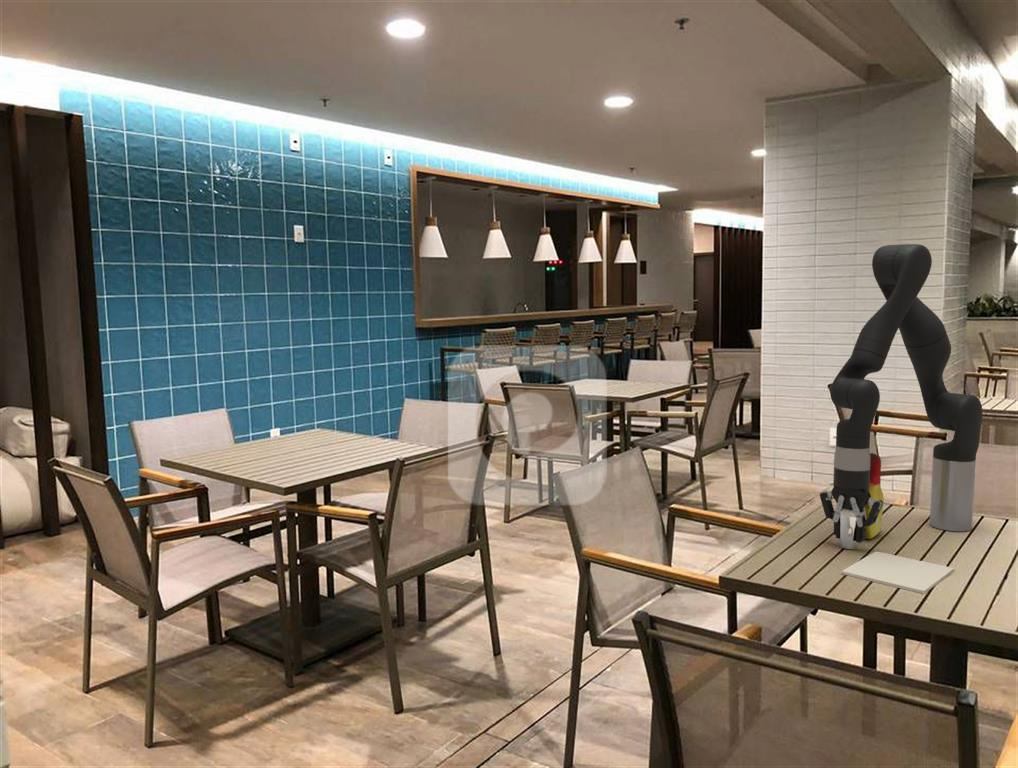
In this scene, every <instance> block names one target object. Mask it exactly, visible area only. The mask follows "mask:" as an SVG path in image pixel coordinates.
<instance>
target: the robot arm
mask: <svg viewBox="0 0 1018 768" xmlns="http://www.w3.org/2000/svg"><path fill="white" fill-rule="evenodd" d="M932 261H933V260H932V255H931V251H930V250H929V249H928V247H926V246H925V245H923V244H918V243H912V244H911V243H910V244H909V243H908V244H907V243H906V244H905V243H904V244H887V245H883V246H880V247H879V248H878V249H876V250H875V252H874V254H873V257H872V261H871V267H872V272H873V276H874V279H875V282H876V283H877V285H878V287H879V289H880V291H881V293H882V295H883V297H884V299H885V300H886V302H884V304H883V305H882V306H881V307H880V308H879V309H878V310H877V311H876V312H875V313H874V314H873V315H872V316H871V317H870V318H869V320H867V322H866V323H865V324H864V325H863V326H862V329H861V330H860V332H859V334H858V336H857V339H856V342H855V344H854V348H853V350H852V353H851V355H850V357H849V359H847V361H846V362H845V364H844V365H843V366H842V367H841V369H840V371H839V372H838V373H837V375H836V376H835V378H834V379H833V381H832V383H831V385H830V392H829V395H830V399H831V402H832V403H833V404H834V405H835V406H837V407H839V408H842V409H847V410H848V409H849V410H852V411H851V415H850V417H849V418H846V419H841V420H840V421H838V422H837V424H836V433H835V450H834V455H833V457H834V459H833V481H832V482H833V488H832V489H831V490H829V491H827V490H825V491H822V492H820V493H819V498H820V502H821V504H822V508H823V511H824V512H823V513H824V515H825V516H824V517H826V519H830V520H832V521H833V535H834V536H835V539H840V517H839V514H840V512H841V510H842V509H847V510H853V512H854V514H855V516H856V517H857V525H858V526H857V532H856V542H857V543H858V544H861V543H862V542H863V541H865V540H866V539H865V538H866V526H870V525H872V524H874V523H875V522H876V519H877V517H878V515H879V512H880V510H881V507H882V505H883V506H884V503H883V501H882V500H876V499H874V498H872V497H871V495H870V493H869V483H870V453H871V447H870V445H871V429H872V426H873V423H874V420H875V417H876V414H877V411H878V408H879V404H880V399H881V396H880V395H881V393H880V389H879V387H878V385H877V384H876V383H875V382H874V381H872V380H870V379H865V378H866V377H867V376H868V375H870V374H874V373H878V372H880V371H881V370H882V368H883V367H884V365H885V362H886V360H887V358H888V354H889V352H890V349H891V346H892V344H893V341H894V339H895V337H896V335H897V332H898V330H899V332H900V335H901V338H902V341H903V345H904V348H905V349H906V352H907V355H908V357H909V359H910V361H911V364H912V367H913V370H914V373H915V376H916V379H917V381H918V385H919V388H920V392H921V396H922V401H923V405H924V408H925V413H926V415H927V418H928V420H929V423H930V424H931V425H932V426H933V427H935V428H937V429H940V430H945V431H952V432H954V434H953V439H952V440H950V441H948V442H942V443H938V444H935V445H934V447H933V448H932V449H933V451H932V469H931V470H932V471H931V475H932V476H931V489H930V491H931V493H930V508H929V510H930V511H929V525H930V526H931V527H933V528H935V529H939V530H944V531H950V532H968V531H971V530H973V517H974V516H973V515H974V500H975V499H974V498H975V481H976V480H975V478H976V465H977V464H976V463H977V462H976V460H977V453H978V451H979V446H980V442H981V441H980V439H981V438H980V437H981V431H982V430H981V429H982V422H983V405H982V403H981V400H980V398H979V397H977V396H976V395H972V394H965V393H958V392H957V393H956V392H950V391H948V389H947V388H946V385H945V382H944V378H943V376H944V375H943V374H944V371H945V369H946V367H947V364H948V362H949V360H950V357H951V353H952V344H951V342H950V338H949V335H948V333H947V330H946V327H945V325H944V323H943V321H942V320H941V319H940V318H939V317H938V315H937V314H936V313H935V312H934V311H933V310H931V308H930V307H928V306H927V305H926V304H925V303H924V301H922V300H921V299H920V298H919V297H918V295H919V293H920V292H921V290H922V288H923V287H924V285H925V283H926V281H927V279H928V277H929V275H930V272H931V268H932V263H933V262H932ZM833 499H834V500H835V502H836V507H835V508H834V505H833V502H832V500H833ZM868 502H869V503H870V508H871V511H870V513H869V515H868V518H867V520H866V511H865V507H864V506H865V505H866V504H867V503H868ZM863 508H864V509H863ZM862 510H863V511H862Z"/></svg>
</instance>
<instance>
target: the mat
mask: <svg viewBox="0 0 1018 768" xmlns="http://www.w3.org/2000/svg"><path fill="white" fill-rule="evenodd" d="M953 572H955V568H954V567H950V566H947V565H941V564H937V563H932V562H927V561H922V560H919V559H915V558H914V559H913V558H909V557H904V556H900V555H895V554H889V553H886V552H880V551H877V550H876V551H874V552H872V553H871V554H868V555H867V556H865V557H864V558H862V559H860V560H858V561H857V562H855V563H853V564H851V565H849V566H848V567H846V568H844V569H843V570H841V575H845V576H849V577H852V578H857V579H862V580H864V581H868V582H869V581H870V582H873V583H877V584H882V585H885V586H890V587H894V588H898V589H902V590H907V591H911V592H914V593H919V594H924V595H925V594H926V593H927V592H929V591H930V590H931V589H932V588H934V587H935V586H937V585H938V584H939V583H940V582H942V581H943V580H944V579H946V578H947V577H948V576H950V575H952V574H953Z"/></svg>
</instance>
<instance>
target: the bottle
mask: <svg viewBox="0 0 1018 768" xmlns="http://www.w3.org/2000/svg"><path fill="white" fill-rule="evenodd" d="M881 473H882V459H881V457H880V456H879V455H877V454H876V453H873V452H872V453H871V452H870V483H869V493H870V495H871V497H872V498H874V499H876V500H882V501H883V505H882V507H881V510H880V512H879V515H878V517H877V519H876V522H875V523H874V524H872V525H870V526H866V538H865V540H866V539H867V540H871V539H873V538H874V537H876V536H877V535H878V534H879V533H880V532H881V530H882V521H883V511H884V504H885V503H884V499H885V497H884V493H883V489H882V487H881V486H882V485H881V483H882V482H881V478H882V474H881ZM865 511H866V520H867V518H868V515H869V513H870V511H871V508H870V503H869V502H868V503H867V504H866V505H865Z"/></svg>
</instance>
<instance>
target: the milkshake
mask: <svg viewBox="0 0 1018 768" xmlns="http://www.w3.org/2000/svg"><path fill="white" fill-rule="evenodd" d="M864 507H865V506H864ZM863 509H864V508H863ZM862 511H863V510H862ZM839 517H840V540H839V541H840V547H841V548H843V549H845V550H856V549H857V548H856V547H857V543H858V542H856V532H857V526H858V525H857V517H856V516H855V514H854V512H853V510H847V509H842V510H841V512H840V514H839Z"/></svg>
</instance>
